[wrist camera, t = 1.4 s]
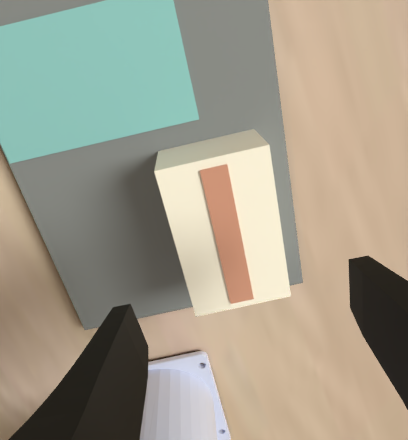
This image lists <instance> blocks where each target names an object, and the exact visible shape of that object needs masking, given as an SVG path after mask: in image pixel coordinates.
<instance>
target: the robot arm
mask: <svg viewBox="0 0 408 440" xmlns="http://www.w3.org/2000/svg"><path fill="white" fill-rule="evenodd" d="M349 284H350V308H351V310H352V313H353V315H354V317H355V319H356V322H357V324H358V326H359V328H360V330H361V332H362V335H363V337H364V338H365V340H366V342H367V343H368V345H369V347H370V348H371V350H372V352H373V353H374V355H375V356H376V358H377V360H378V361H379V363H380V365H381V366H382V368H383V369H384V371H385V373H386V374H387V376H388V378H389V379H390V381H391V382H392V384H393V386H394V387H395V389H396V391H397V392H398V394H399V395H400V397H401V399H402V400H403V402H404V404H405V406H406V408H407V409H408V281H407V280H405V279H404V278H402V277H401V276H399V275H397V274H396V273H394V272H393V271H391V270H390V269H388V268H386V267H385V266H383V265H382V264H380V263H379V262H377V261H376V260H374V259H373V258H371V257H369V256H364V257H359V258H354V259H349ZM200 363H204V364H200ZM9 440H231V437H230V432H229V429H228V425H227V422H226V418H225V415H224V411H223V408H222V404H221V401H220V397H219V394H218V390H217V387H216V383H215V380H214V376H213V373H212V369H211V366H210V362H209V359H208V355H207V353H205V352H204V351H197V352H193V353H188V354H183V355H178V356H174V357H169V358H164V359H160V360H155V361H150V362H148V345H147V342H146V340H145V337H144V335H143V333H142V330H141V328H140V325H139V323H138V320H137V318H136V316H135V313H134V311H133V308H132V306H131V304H126V305H121V306H116V307H113V308H112V309H111V311H110V312H109V314H108V315H107V317H106V318H105V320H104V321H103V323H102V324H101V326H100V327H99V329H98V330H97V332H96V333H95V335H94V336H93V338H92V339H91V341H90V342H89V344H88V345H87V346H86V348H85V349H84V351H83V352H82V354H81V355H80V357H79V358H78V359H77V361H76V362H75V364H74V365H73V366H72V368H71V369H70V370H69V371H68V373H67V374H66V375H65V377H64V378H63V379H62V381H61V382H60V383H59V385H58V386H57V387H56V388H55V390H54V391H53V392H52V393H51V394H50V396H49V397H48V398H47V399H46V400H45V402H44V403H43V404H42V405H41V406H40V407H39V408H38V409H37V411H36V412H35V413H34V414H33V415H32V416H31V417H30V418H29V419H28V420H27V421H26V422H25V423H24V424H23V425H22V427H21V428H20V429H19V430H18V431H17V432H16V433H15V434H14V435H13V436H12V437H11V438H10V439H9Z"/></svg>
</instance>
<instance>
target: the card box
mask: <svg viewBox="0 0 408 440" xmlns="http://www.w3.org/2000/svg"><path fill="white" fill-rule="evenodd" d="M154 173H155V176H156V179H157V183H158V186H159V190H160V193H161V197H162V200H163V204H164V207H165V211H166V214H167V218H168V221H169V225H170V228H171V232H172V235H173V239H174V242H175V246H176V249H177V253H178V256H179V260H180V263H181V267H182V270H183V274H184V277H185V281H186V284H187V288H188V291H189V295H190V298H191V301H192V305H193V308H194V312H195V315H196V317H197V316H202V315H206V314H211V313H215V312H220V311H225V310H229V309H234V308H239V307H243V306H248V305H252V304H257V303H262V302H266V301H271V300H276V299H280V298H285V297H289V296H291V292H290V285H289V278H288V271H287V264H286V257H285V250H284V243H283V236H282V229H281V222H280V215H279V208H278V201H277V194H276V187H275V180H274V173H273V166H272V159H271V152H270V145H269V144H268V143H267V142H266V141H265V140H264V139H263V138H262V137H261V136H260V135H259V134H258V133H257V132H256V131H255V129H251V130H247V131H243V132H239V133H234V134H230V135H226V136H221V137H217V138H213V139H208V140H204V141H200V142H195V143H191V144H187V145H183V146H178V147H174V148H170V149H165V150H161V151H158V155H157V160H156V165H155V170H154Z"/></svg>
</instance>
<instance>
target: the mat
mask: <svg viewBox="0 0 408 440" xmlns="http://www.w3.org/2000/svg"><path fill="white" fill-rule="evenodd" d="M251 129H255V131H256V132H257V133H258V134H259V135H260V136H261V137H262V138H263V139H264V140H265V141H266V142H267V143H268V144H269V145H270V152H271V159H272V166H273V173H274V180H275V187H276V194H277V201H278V208H279V215H280V222H281V229H282V236H283V243H284V250H285V257H286V264H287V271H288V278H289V285H295V284H299V283H303V280H302V272H301V263H300V255H299V247H298V239H297V231H296V223H295V215H294V207H293V199H292V191H291V183H290V175H289V167H288V159H287V151H286V143H285V134H284V126H283V118H282V110H281V102H280V94H279V86H278V78H277V70H276V62H275V54H274V46H273V38H272V30H271V22H270V13H269V5H268V0H0V146H1V148H2V151H3V153H4V155H5V157H6V159H7V161H8V164H9V166H10V168H11V170H12V172H13V175H14V177H15V179H16V181H17V183H18V185H19V188H20V190H21V192H22V194H23V196H24V199H25V201H26V203H27V205H28V207H29V209H30V212H31V214H32V216H33V218H34V220H35V223H36V225H37V227H38V229H39V231H40V233H41V236H42V238H43V240H44V242H45V244H46V247H47V249H48V251H49V253H50V255H51V257H52V260H53V262H54V264H55V266H56V268H57V271H58V273H59V275H60V277H61V279H62V281H63V284H64V286H65V288H66V290H67V292H68V295H69V297H70V299H71V301H72V303H73V305H74V308H75V310H76V312H77V314H78V316H79V319H80V321H81V323H82V325H83V327H84V329H85V330H88V329H92V328H97V327H100V326H101V324H102V323H103V321H104V320H105V318H106V317H107V315H108V314H109V312H110V311H111V309H112V308H113V307H116V306H121V305H126V304H131V306H132V308H133V311H134V313H135V316H136V318H137V319H138V318H143V317H148V316H152V315H157V314H161V313H166V312H171V311H175V310H180V309H184V308H189V307H193V305H192V301H191V298H190V295H189V291H188V288H187V284H186V281H185V277H184V274H183V270H182V267H181V263H180V260H179V256H178V253H177V249H176V246H175V242H174V239H173V235H172V232H171V228H170V225H169V221H168V218H167V214H166V211H165V207H164V204H163V200H162V197H161V193H160V190H159V186H158V183H157V179H156V176H155V173H154V170H155V165H156V160H157V155H158V151H161V150H165V149H170V148H174V147H178V146H183V145H187V144H191V143H195V142H200V141H204V140H208V139H213V138H217V137H221V136H226V135H230V134H234V133H239V132H243V131H247V130H251Z"/></svg>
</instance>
